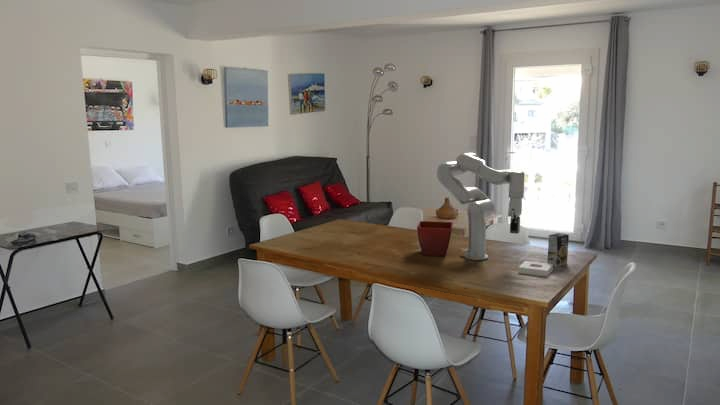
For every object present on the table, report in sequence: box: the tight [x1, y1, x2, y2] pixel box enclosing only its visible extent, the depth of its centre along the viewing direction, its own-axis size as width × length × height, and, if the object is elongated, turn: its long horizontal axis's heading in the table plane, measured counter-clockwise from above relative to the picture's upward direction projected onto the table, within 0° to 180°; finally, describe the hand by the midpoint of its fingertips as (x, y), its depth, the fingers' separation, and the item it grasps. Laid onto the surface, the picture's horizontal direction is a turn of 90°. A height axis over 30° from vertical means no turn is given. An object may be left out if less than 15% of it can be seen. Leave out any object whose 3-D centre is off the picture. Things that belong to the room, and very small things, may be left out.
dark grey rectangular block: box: [509, 216, 521, 235], centre depth 290 cm, size 4×4×8 cm
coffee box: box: [546, 232, 570, 268], centre depth 293 cm, size 9×6×16 cm
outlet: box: [517, 260, 554, 277], centre depth 281 cm, size 14×14×3 cm
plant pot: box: [416, 220, 454, 257], centre depth 318 cm, size 19×19×17 cm
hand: (514, 229), depth 290 cm, fingers closed on dark grey rectangular block, 4 cm apart
